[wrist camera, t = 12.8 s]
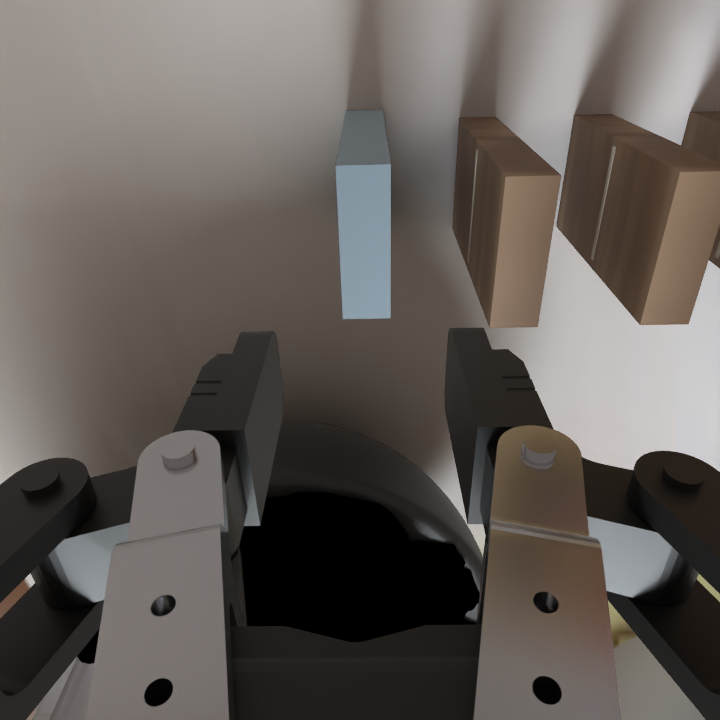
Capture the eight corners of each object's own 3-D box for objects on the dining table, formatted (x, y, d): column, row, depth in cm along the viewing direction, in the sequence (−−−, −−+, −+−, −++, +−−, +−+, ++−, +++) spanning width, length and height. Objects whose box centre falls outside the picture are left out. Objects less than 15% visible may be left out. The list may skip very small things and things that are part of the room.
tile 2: (452, 228, 28) (489, 327, 19) (458, 118, 25) (504, 176, 17) (486, 227, 28) (538, 326, 19) (496, 117, 25) (562, 175, 17)
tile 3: (556, 226, 28) (639, 325, 19) (573, 114, 25) (679, 172, 17) (590, 225, 28) (689, 324, 19) (611, 114, 25) (737, 170, 16)
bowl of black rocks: (192, 587, 42) (85, 939, 26) (107, 358, 32) (-152, 713, 16) (463, 576, 41) (523, 936, 25) (469, 335, 31) (577, 690, 15)
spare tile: (349, 222, 28) (342, 319, 19) (346, 110, 25) (334, 165, 17) (383, 221, 28) (391, 318, 19) (383, 109, 25) (391, 164, 17)
